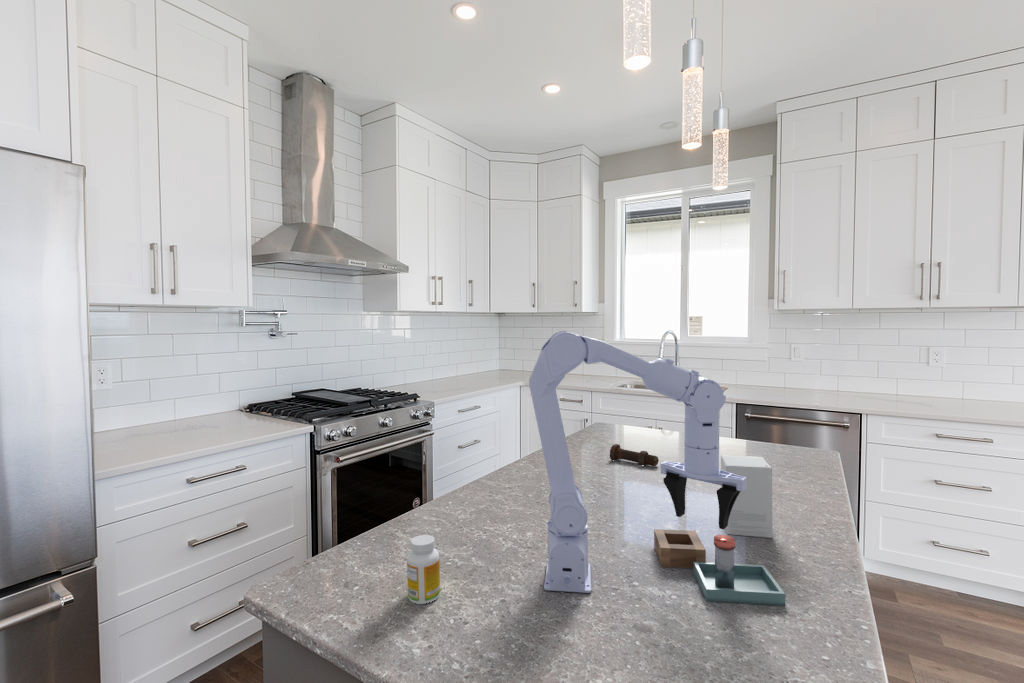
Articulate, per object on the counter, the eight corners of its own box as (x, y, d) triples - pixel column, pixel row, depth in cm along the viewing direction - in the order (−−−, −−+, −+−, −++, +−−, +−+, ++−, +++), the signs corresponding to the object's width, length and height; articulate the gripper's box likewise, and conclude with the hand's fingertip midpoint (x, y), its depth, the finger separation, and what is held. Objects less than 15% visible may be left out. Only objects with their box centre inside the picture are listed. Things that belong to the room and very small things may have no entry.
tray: (785, 606, 77) (785, 593, 77) (706, 601, 78) (706, 589, 78) (763, 576, 86) (763, 565, 86) (693, 572, 87) (693, 561, 87)
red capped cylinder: (738, 591, 80) (738, 544, 80) (717, 590, 81) (717, 543, 80) (731, 580, 84) (731, 535, 83) (711, 579, 84) (711, 534, 84)
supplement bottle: (442, 586, 84) (440, 532, 84) (438, 604, 79) (436, 546, 78) (411, 587, 84) (409, 533, 84) (405, 606, 79) (403, 547, 78)
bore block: (705, 569, 88) (705, 549, 88) (660, 566, 90) (660, 547, 89) (695, 548, 96) (695, 530, 96) (654, 546, 98) (654, 529, 97)
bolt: (655, 474, 149) (611, 464, 159) (661, 462, 152) (618, 453, 162) (652, 460, 147) (607, 450, 156) (658, 449, 150) (614, 440, 159)
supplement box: (763, 521, 109) (763, 455, 108) (773, 539, 100) (773, 467, 99) (720, 517, 111) (719, 453, 110) (726, 534, 102) (726, 465, 102)
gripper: (752, 447, 83) (752, 525, 83) (672, 434, 93) (672, 504, 93) (738, 456, 78) (738, 539, 78) (655, 441, 88) (655, 515, 88)
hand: (701, 521), depth 86 cm, fingers open, 7 cm apart
